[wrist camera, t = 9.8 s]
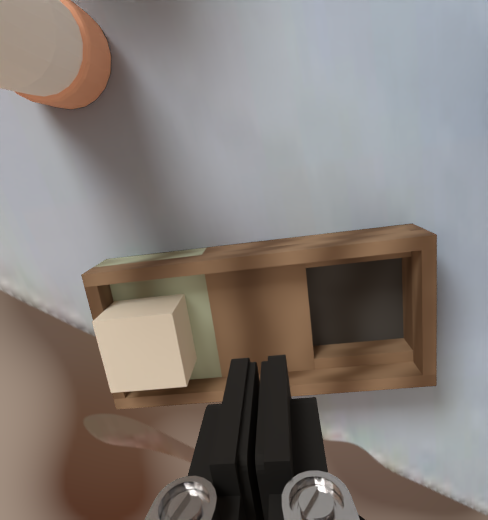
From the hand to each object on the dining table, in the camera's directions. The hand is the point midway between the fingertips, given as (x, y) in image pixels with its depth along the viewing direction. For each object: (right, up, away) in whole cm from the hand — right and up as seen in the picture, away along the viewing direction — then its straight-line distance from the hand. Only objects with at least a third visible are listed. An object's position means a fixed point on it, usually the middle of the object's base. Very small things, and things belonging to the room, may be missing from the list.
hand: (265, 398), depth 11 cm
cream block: (-8, -2, +20) cm, 22 cm away
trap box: (+1, 0, +21) cm, 21 cm away
